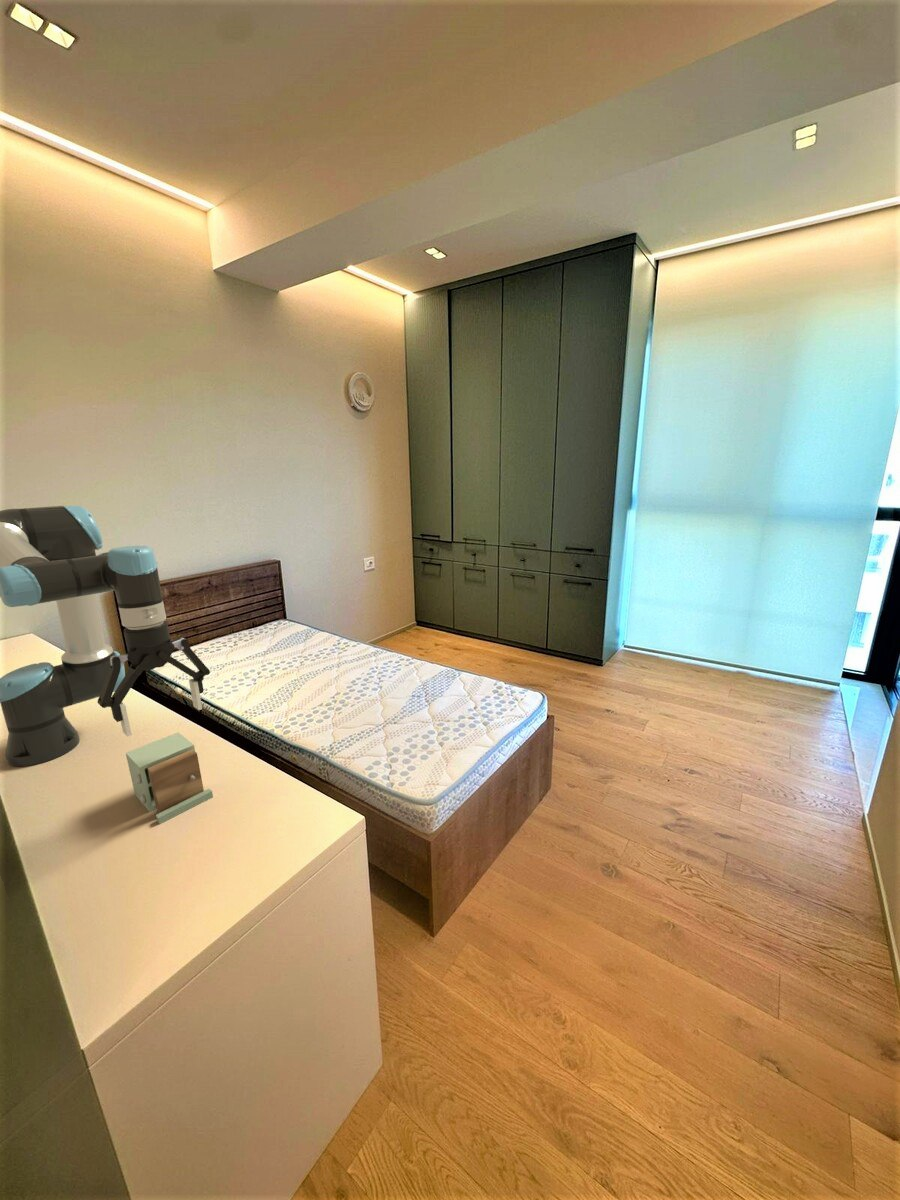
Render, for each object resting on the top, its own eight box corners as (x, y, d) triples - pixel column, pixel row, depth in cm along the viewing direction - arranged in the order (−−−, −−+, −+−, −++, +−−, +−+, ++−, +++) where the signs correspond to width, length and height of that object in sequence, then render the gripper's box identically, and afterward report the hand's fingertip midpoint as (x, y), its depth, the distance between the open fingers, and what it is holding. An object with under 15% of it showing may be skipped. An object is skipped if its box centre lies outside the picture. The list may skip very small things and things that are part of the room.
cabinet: (131, 796, 107) (121, 754, 104) (185, 772, 116) (178, 732, 113) (155, 826, 97) (145, 780, 95) (213, 796, 106) (205, 753, 103)
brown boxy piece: (157, 812, 102) (147, 768, 99) (200, 791, 108) (192, 749, 105) (163, 819, 99) (153, 774, 97) (206, 797, 106) (198, 754, 103)
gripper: (73, 645, 82) (99, 752, 87) (216, 612, 100) (231, 703, 106) (62, 637, 87) (87, 739, 92) (201, 607, 105) (216, 694, 110)
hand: (164, 720), depth 99 cm, fingers open, 13 cm apart
